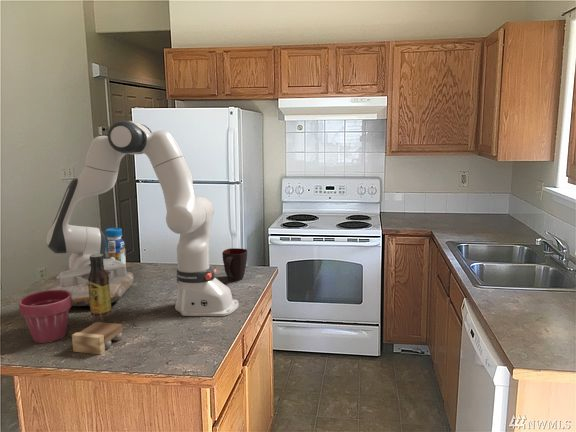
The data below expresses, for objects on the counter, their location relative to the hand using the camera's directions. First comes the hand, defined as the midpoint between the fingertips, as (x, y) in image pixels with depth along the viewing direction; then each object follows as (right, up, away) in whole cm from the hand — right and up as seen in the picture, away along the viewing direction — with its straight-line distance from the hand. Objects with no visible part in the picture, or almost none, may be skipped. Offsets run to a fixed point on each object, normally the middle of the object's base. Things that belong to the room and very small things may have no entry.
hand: (98, 280), depth 153 cm
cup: (+37, -7, +51) cm, 64 cm away
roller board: (+3, -18, -9) cm, 20 cm away
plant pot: (-14, -17, -3) cm, 22 cm away
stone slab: (-16, -11, +32) cm, 37 cm away
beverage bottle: (-16, -5, +62) cm, 64 cm away
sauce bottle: (0, -12, +3) cm, 12 cm away
